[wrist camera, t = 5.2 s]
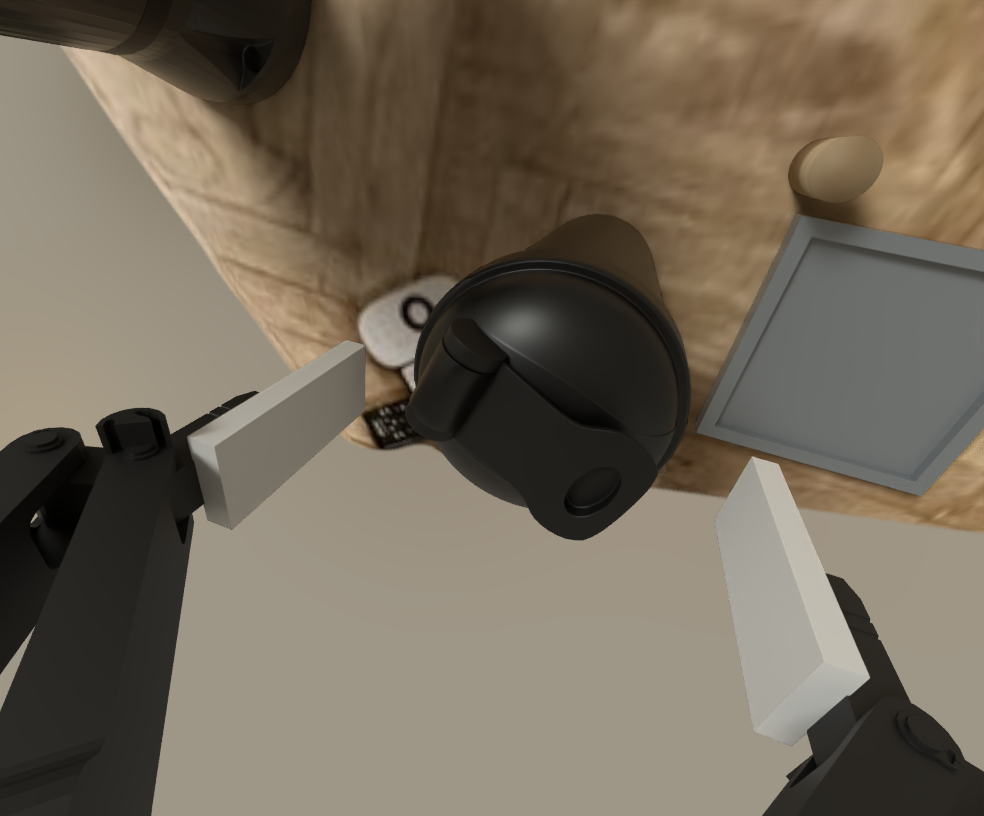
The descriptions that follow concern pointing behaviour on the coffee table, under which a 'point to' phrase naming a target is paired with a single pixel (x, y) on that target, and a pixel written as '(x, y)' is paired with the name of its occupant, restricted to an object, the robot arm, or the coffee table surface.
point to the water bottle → (557, 376)
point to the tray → (858, 356)
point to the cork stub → (836, 168)
